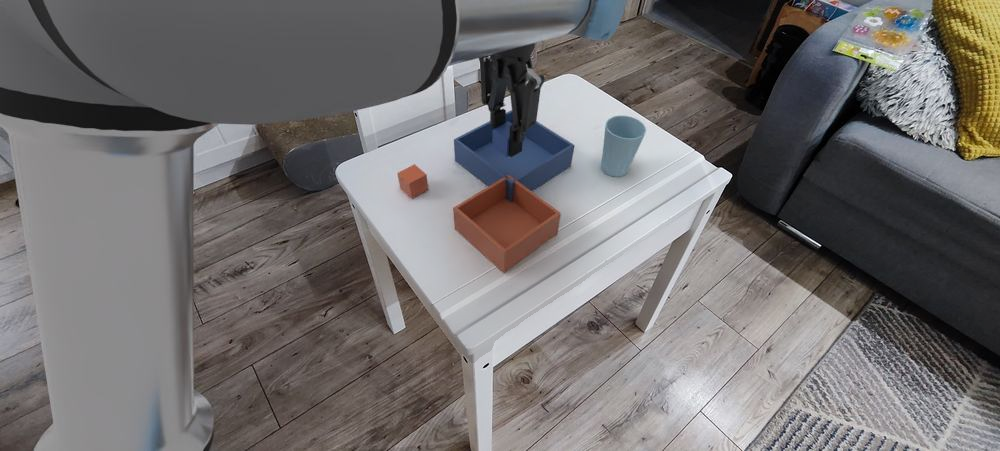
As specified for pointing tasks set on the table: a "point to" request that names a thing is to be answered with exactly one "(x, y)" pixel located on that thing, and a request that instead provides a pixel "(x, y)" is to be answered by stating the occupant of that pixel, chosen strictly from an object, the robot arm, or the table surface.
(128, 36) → the robot arm
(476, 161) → the blue bin
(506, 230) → the terracotta bin
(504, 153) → the blue block
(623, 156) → the cup
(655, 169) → the table surface
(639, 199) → the table surface
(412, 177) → the terracotta block
